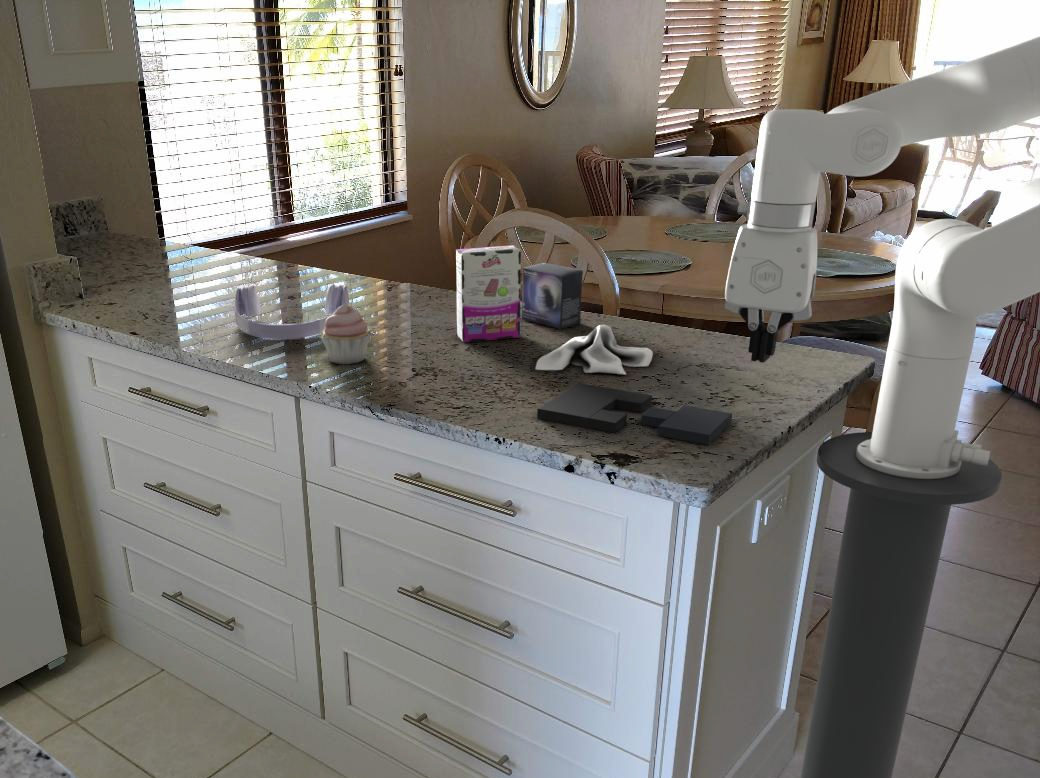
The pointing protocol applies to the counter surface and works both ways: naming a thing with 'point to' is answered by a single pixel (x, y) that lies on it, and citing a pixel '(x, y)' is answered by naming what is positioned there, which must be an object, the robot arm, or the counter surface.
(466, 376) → the counter surface
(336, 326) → the cupcake
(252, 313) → the headphones
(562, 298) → the small box
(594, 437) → the counter surface
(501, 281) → the candy bar box
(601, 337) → the cloth
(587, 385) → the black notched block
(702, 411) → the charcoal pad
